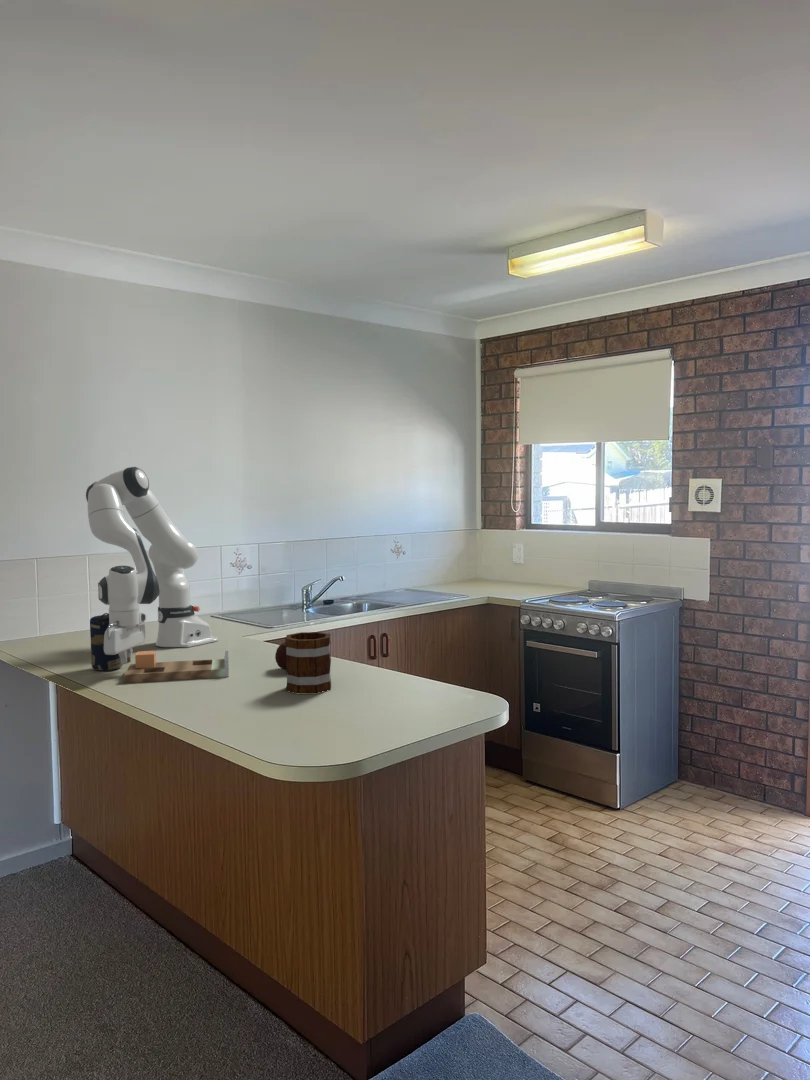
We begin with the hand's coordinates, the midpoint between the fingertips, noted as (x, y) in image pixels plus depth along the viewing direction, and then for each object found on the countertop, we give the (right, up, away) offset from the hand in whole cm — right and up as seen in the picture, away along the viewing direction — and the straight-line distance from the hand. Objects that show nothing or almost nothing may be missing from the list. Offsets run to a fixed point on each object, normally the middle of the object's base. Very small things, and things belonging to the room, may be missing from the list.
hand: (125, 663), depth 244 cm
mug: (+60, -4, -16) cm, 62 cm away
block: (+6, -1, +1) cm, 6 cm away
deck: (+16, -3, 0) cm, 17 cm away
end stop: (+31, -3, +3) cm, 31 cm away
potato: (+50, -3, +4) cm, 51 cm away
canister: (-9, -3, +9) cm, 13 cm away
